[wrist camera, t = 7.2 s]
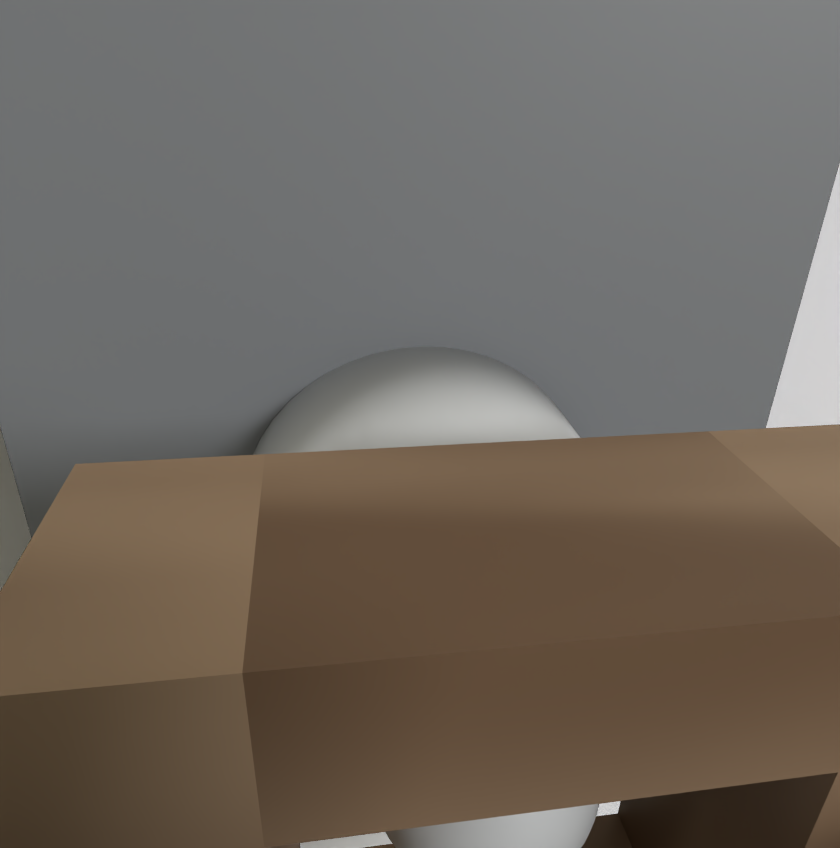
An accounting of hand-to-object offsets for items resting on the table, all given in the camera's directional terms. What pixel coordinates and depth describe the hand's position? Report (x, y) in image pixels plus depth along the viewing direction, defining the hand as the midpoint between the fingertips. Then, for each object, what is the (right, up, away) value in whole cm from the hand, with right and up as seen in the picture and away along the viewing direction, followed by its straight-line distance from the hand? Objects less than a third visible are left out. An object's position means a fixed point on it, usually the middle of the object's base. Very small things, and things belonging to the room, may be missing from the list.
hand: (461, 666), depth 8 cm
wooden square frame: (0, 0, -1) cm, 1 cm away
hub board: (-1, +2, +4) cm, 5 cm away
